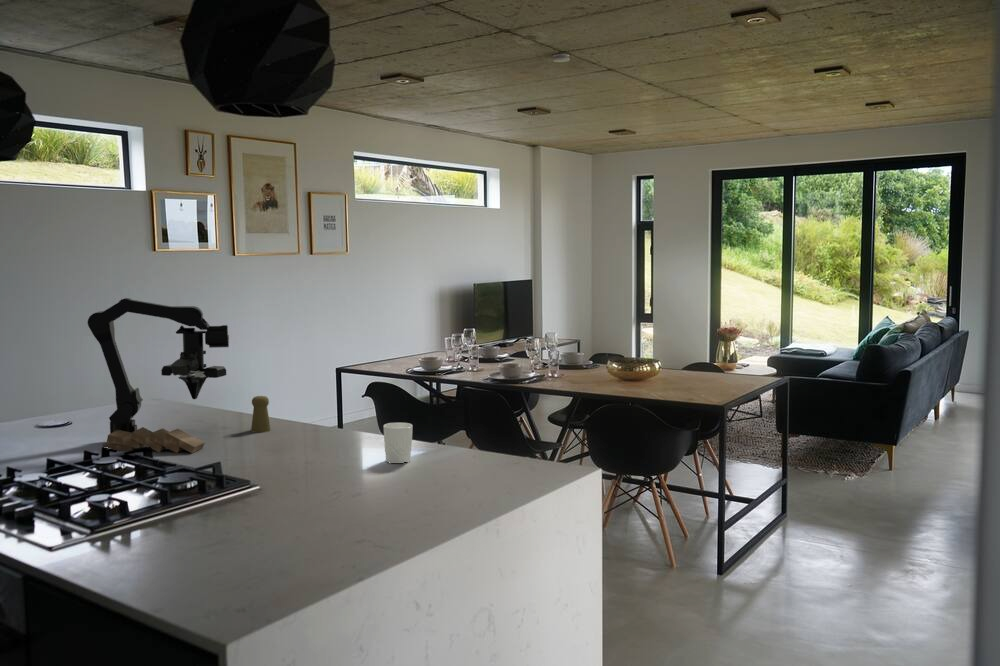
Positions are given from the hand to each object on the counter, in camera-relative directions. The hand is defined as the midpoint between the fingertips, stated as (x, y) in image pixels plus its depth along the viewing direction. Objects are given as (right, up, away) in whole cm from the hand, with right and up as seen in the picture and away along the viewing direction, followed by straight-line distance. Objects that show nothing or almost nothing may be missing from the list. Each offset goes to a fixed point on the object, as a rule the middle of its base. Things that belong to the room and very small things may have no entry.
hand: (194, 399), depth 243 cm
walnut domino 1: (-9, -11, -14) cm, 20 cm away
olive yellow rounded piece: (+16, -11, +13) cm, 24 cm away
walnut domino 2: (-12, -13, -13) cm, 21 cm away
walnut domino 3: (-3, -13, -14) cm, 19 cm away
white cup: (+65, -15, -24) cm, 71 cm away
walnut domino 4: (+2, -13, -15) cm, 19 cm away
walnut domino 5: (+7, -13, -15) cm, 21 cm away
